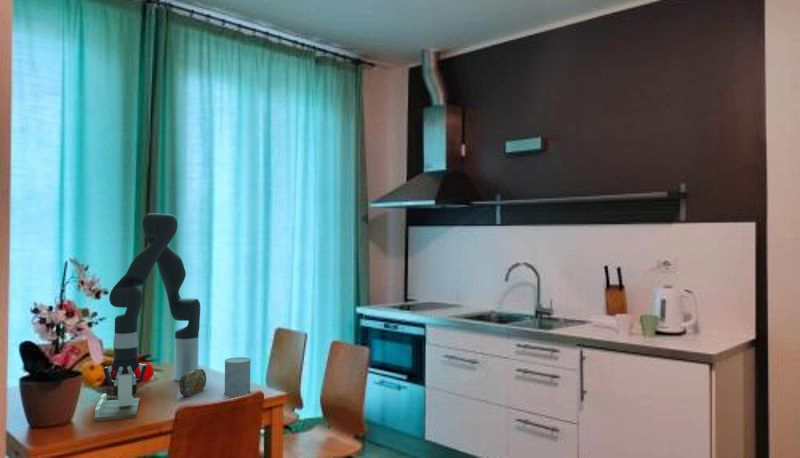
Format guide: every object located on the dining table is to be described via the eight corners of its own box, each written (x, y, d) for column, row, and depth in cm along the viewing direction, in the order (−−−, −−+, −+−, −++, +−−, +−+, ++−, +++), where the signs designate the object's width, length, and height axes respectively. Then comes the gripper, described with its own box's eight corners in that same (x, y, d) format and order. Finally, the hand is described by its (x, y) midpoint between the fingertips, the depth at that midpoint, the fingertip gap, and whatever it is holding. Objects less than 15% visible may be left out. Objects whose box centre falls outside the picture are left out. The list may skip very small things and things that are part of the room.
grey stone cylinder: (255, 392, 225) (255, 360, 225) (232, 397, 218) (232, 363, 218) (242, 387, 232) (242, 356, 232) (219, 392, 225) (219, 359, 225)
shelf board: (102, 404, 208) (102, 400, 208) (139, 401, 212) (139, 397, 212) (94, 421, 189) (94, 417, 189) (135, 417, 194) (135, 413, 194)
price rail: (102, 400, 208) (102, 393, 208) (106, 400, 209) (106, 392, 209) (94, 417, 189) (94, 409, 189) (99, 417, 190) (99, 408, 190)
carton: (133, 398, 206) (133, 370, 206) (131, 405, 199) (131, 375, 199) (119, 400, 205) (119, 371, 205) (117, 406, 197) (117, 376, 197)
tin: (185, 399, 216) (185, 376, 216) (177, 398, 216) (177, 375, 216) (206, 388, 230) (207, 366, 230) (199, 388, 231) (199, 366, 231)
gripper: (149, 342, 208) (148, 391, 208) (103, 344, 203) (103, 394, 203) (147, 346, 201) (147, 396, 201) (101, 348, 196) (100, 400, 196)
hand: (125, 395), depth 202 cm, fingers closed on carton, 4 cm apart
